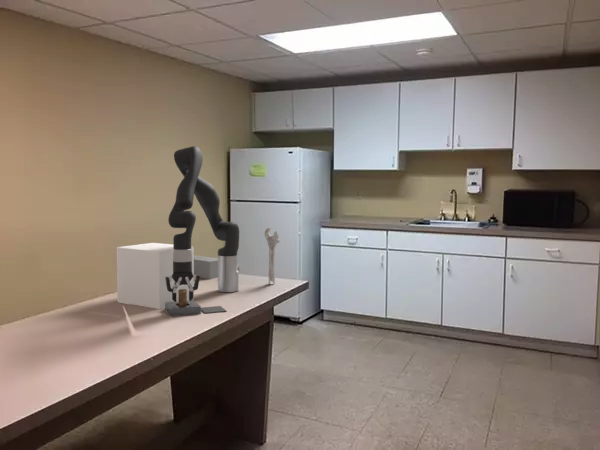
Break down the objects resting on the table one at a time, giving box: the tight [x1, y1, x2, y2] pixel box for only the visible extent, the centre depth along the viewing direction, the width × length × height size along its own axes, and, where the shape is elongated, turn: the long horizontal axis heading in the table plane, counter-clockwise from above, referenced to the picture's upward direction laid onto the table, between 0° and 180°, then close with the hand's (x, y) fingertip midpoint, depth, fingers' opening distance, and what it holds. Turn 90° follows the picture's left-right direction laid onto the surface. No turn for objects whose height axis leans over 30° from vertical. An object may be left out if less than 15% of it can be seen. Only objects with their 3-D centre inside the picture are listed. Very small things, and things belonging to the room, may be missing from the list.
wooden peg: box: [178, 289, 187, 306], centre depth 213 cm, size 3×3×9 cm
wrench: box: [264, 227, 281, 285], centre depth 267 cm, size 8×2×30 cm, turn 70°
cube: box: [116, 242, 195, 310], centre depth 232 cm, size 25×21×24 cm
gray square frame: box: [164, 299, 202, 317], centre depth 214 cm, size 12×12×3 cm
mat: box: [201, 305, 227, 315], centre depth 217 cm, size 9×9×1 cm
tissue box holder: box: [194, 254, 240, 280], centre depth 295 cm, size 25×23×11 cm
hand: (182, 300), depth 213 cm, fingers open, 5 cm apart
